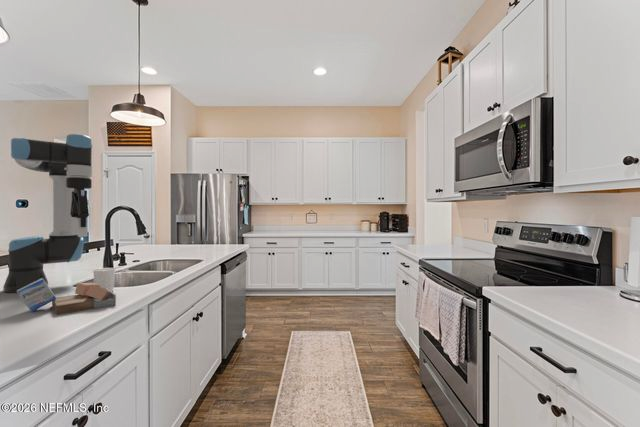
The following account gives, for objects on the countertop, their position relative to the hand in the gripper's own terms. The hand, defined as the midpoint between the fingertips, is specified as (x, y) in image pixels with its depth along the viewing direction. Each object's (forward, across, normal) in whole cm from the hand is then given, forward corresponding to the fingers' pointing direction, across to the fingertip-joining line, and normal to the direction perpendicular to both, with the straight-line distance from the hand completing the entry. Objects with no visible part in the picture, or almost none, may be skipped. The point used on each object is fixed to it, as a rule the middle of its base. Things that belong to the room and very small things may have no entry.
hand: (79, 235), depth 122 cm
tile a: (+24, -7, +3) cm, 25 cm away
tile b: (+24, +2, +5) cm, 24 cm away
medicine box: (+25, -6, -9) cm, 27 cm away
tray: (+27, -2, +7) cm, 28 cm away
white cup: (+27, -20, +12) cm, 36 cm away
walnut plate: (+27, -2, -2) cm, 27 cm away
